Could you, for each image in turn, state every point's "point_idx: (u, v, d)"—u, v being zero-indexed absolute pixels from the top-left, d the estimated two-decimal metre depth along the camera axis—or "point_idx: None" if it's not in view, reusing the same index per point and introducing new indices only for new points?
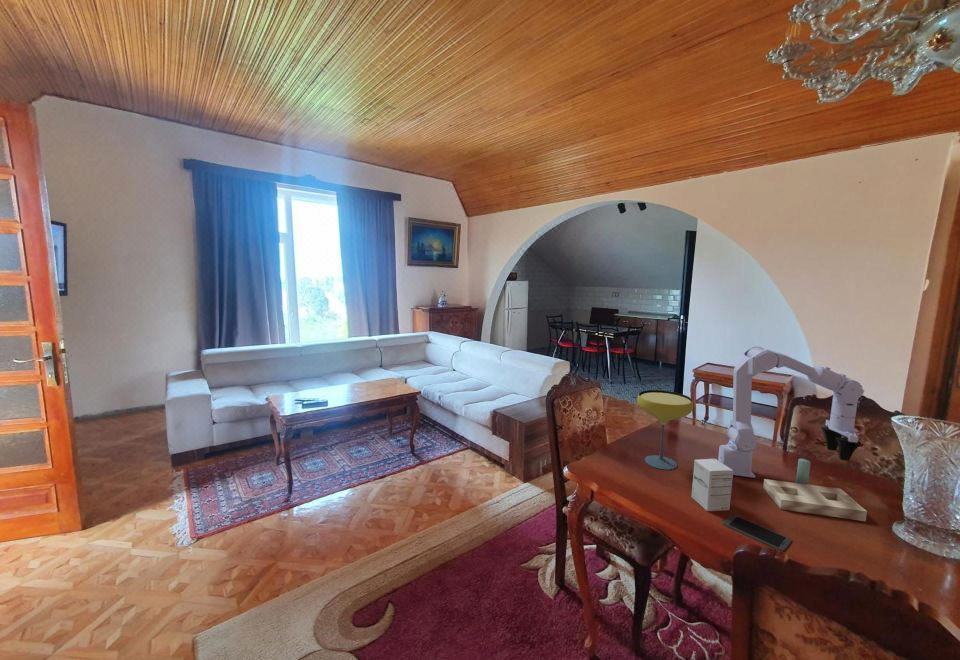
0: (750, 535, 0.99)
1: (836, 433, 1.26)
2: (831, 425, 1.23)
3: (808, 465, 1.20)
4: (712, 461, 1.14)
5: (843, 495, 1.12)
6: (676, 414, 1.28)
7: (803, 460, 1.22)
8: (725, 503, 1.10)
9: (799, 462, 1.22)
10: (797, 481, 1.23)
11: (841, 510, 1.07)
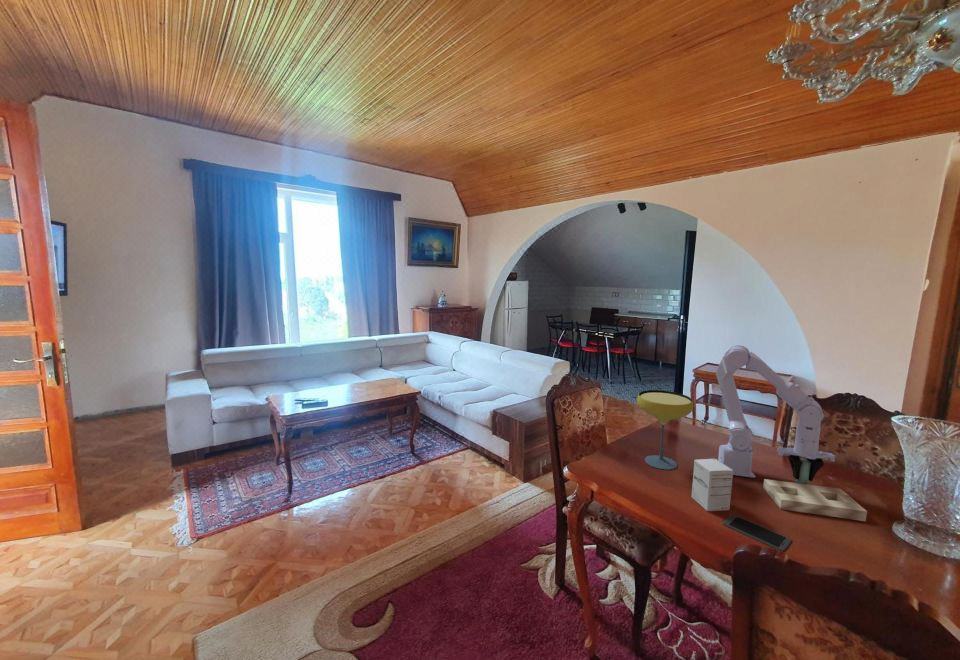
0: (750, 535, 0.99)
1: (811, 463, 1.20)
2: None
3: (808, 465, 1.20)
4: (712, 461, 1.14)
5: (843, 495, 1.12)
6: (676, 414, 1.28)
7: (803, 460, 1.22)
8: (725, 503, 1.10)
9: None
10: (797, 481, 1.23)
11: (841, 510, 1.07)
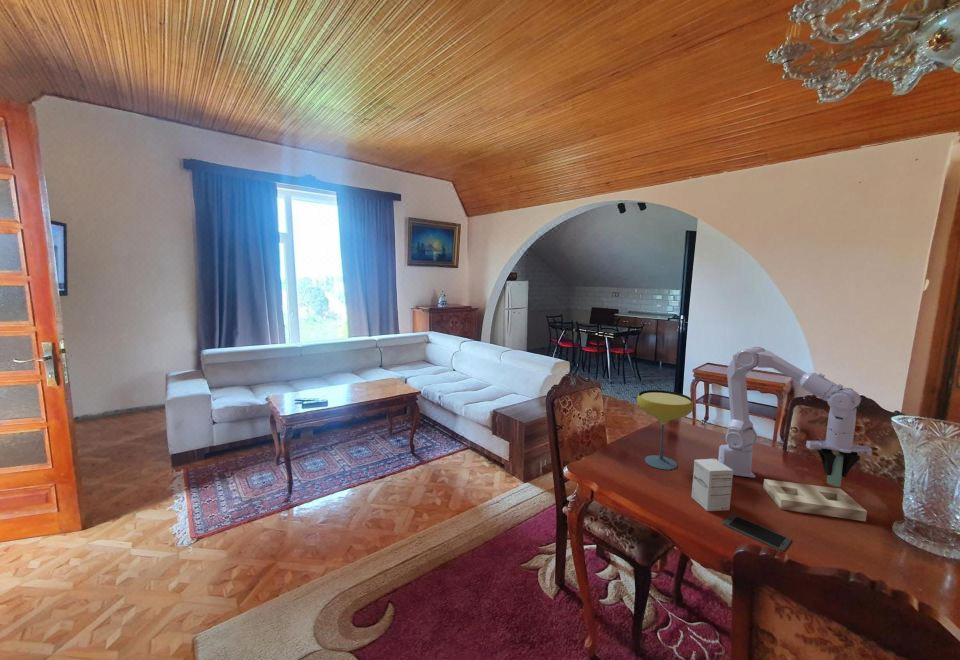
0: (750, 535, 0.99)
1: (845, 457, 1.09)
2: None
3: (841, 459, 1.09)
4: (712, 461, 1.14)
5: (843, 495, 1.12)
6: (676, 414, 1.28)
7: (835, 454, 1.11)
8: (725, 503, 1.10)
9: None
10: (829, 477, 1.11)
11: (841, 510, 1.07)
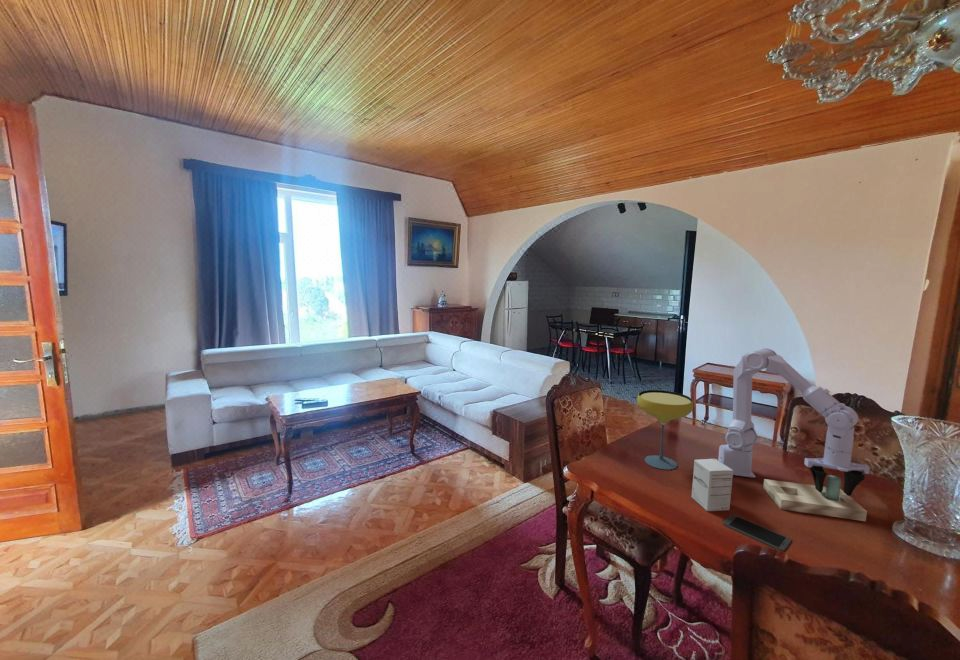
0: (750, 535, 0.99)
1: (850, 476, 1.09)
2: None
3: (838, 483, 1.10)
4: (712, 461, 1.14)
5: (843, 495, 1.12)
6: (676, 414, 1.28)
7: (833, 477, 1.11)
8: (725, 503, 1.10)
9: (828, 479, 1.11)
10: None
11: (841, 510, 1.07)
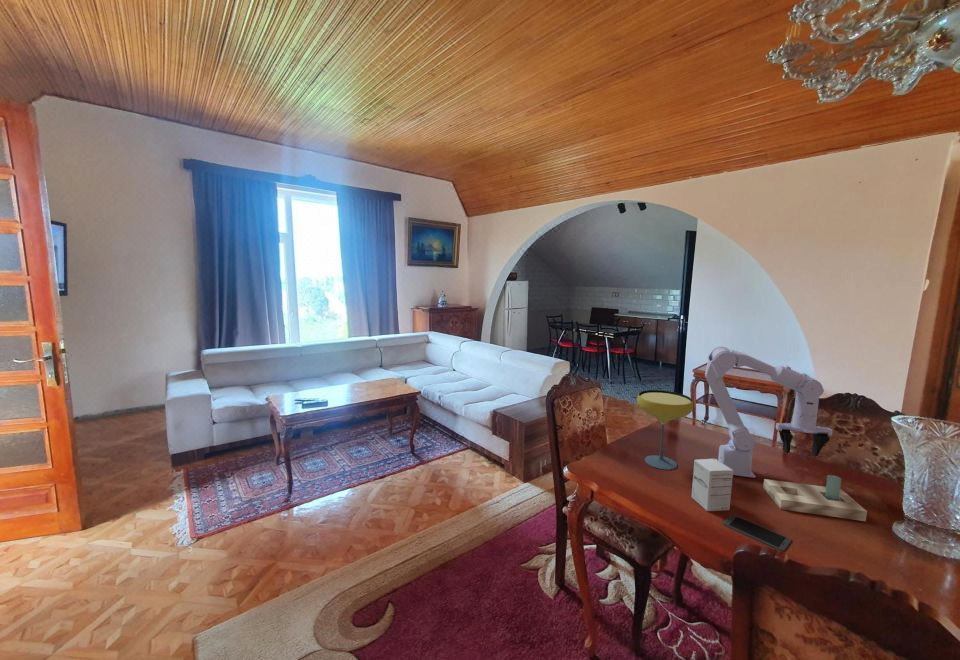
0: (750, 535, 0.99)
1: (817, 438, 1.23)
2: None
3: (838, 482, 1.10)
4: (712, 461, 1.14)
5: (843, 495, 1.12)
6: (676, 414, 1.28)
7: (833, 477, 1.11)
8: (725, 503, 1.10)
9: (828, 479, 1.11)
10: None
11: (841, 510, 1.07)
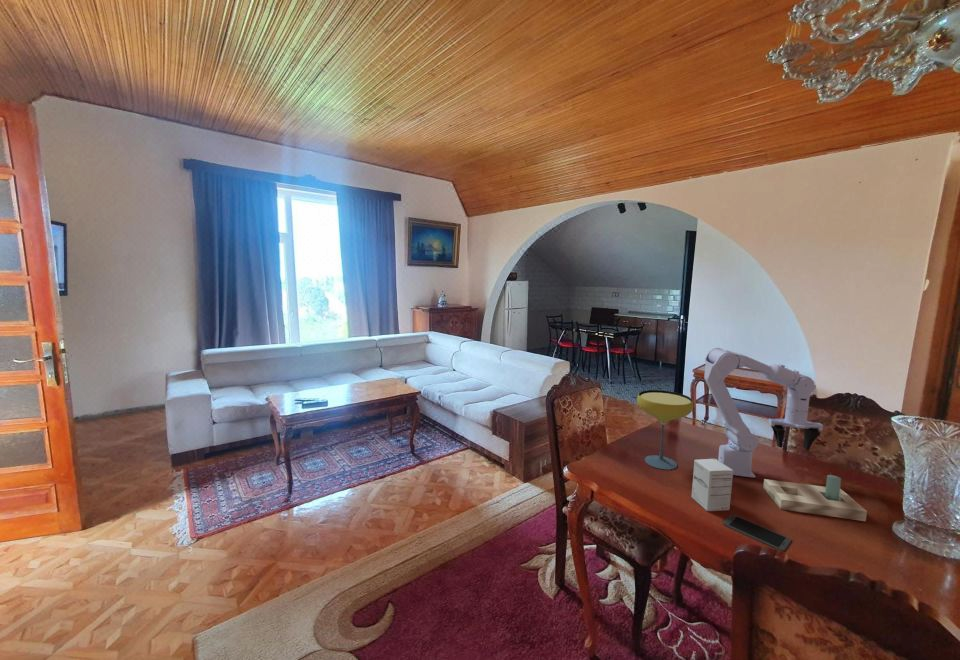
0: (750, 535, 0.99)
1: (808, 433, 1.27)
2: None
3: (838, 482, 1.10)
4: (712, 461, 1.14)
5: (843, 495, 1.12)
6: (676, 414, 1.28)
7: (832, 477, 1.12)
8: (725, 503, 1.10)
9: (828, 479, 1.11)
10: None
11: (841, 510, 1.07)
